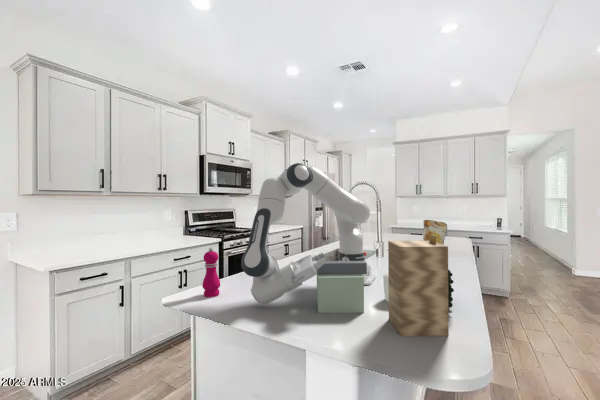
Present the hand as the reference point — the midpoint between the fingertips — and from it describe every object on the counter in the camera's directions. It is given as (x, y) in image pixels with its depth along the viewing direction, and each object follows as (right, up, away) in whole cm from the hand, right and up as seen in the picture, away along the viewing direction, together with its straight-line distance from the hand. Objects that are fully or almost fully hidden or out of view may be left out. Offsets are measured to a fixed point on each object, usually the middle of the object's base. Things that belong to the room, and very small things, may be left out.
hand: (324, 257), depth 113 cm
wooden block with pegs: (+27, -18, -18) cm, 37 cm away
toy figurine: (+44, -18, +4) cm, 48 cm away
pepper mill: (-46, -19, +15) cm, 52 cm away
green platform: (+5, -18, 0) cm, 19 cm away
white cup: (+28, -18, +6) cm, 34 cm away
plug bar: (+5, -6, 0) cm, 8 cm away
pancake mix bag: (+58, -18, +42) cm, 74 cm away
